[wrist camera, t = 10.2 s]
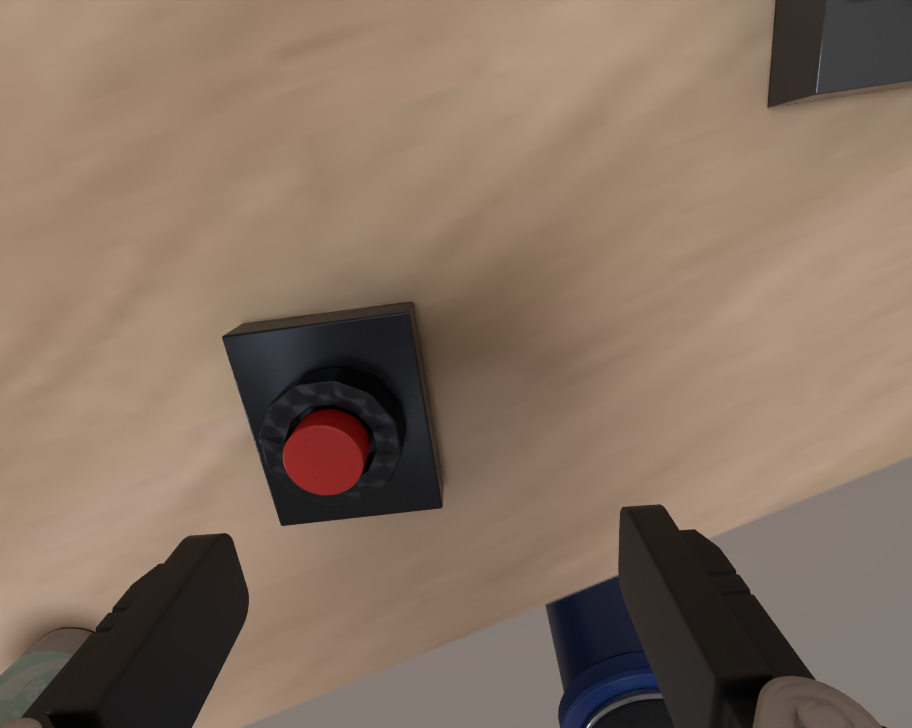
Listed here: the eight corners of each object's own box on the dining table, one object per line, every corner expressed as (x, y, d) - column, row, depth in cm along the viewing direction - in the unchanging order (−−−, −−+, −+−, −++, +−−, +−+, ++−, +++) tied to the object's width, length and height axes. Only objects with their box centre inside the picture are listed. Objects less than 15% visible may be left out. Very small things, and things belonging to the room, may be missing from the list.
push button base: (444, 485, 28) (441, 531, 24) (293, 502, 28) (268, 549, 25) (413, 301, 24) (405, 321, 20) (240, 323, 25) (201, 348, 21)
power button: (376, 470, 23) (370, 491, 22) (304, 478, 24) (293, 500, 22) (361, 403, 22) (354, 420, 21) (286, 413, 22) (272, 430, 21)
